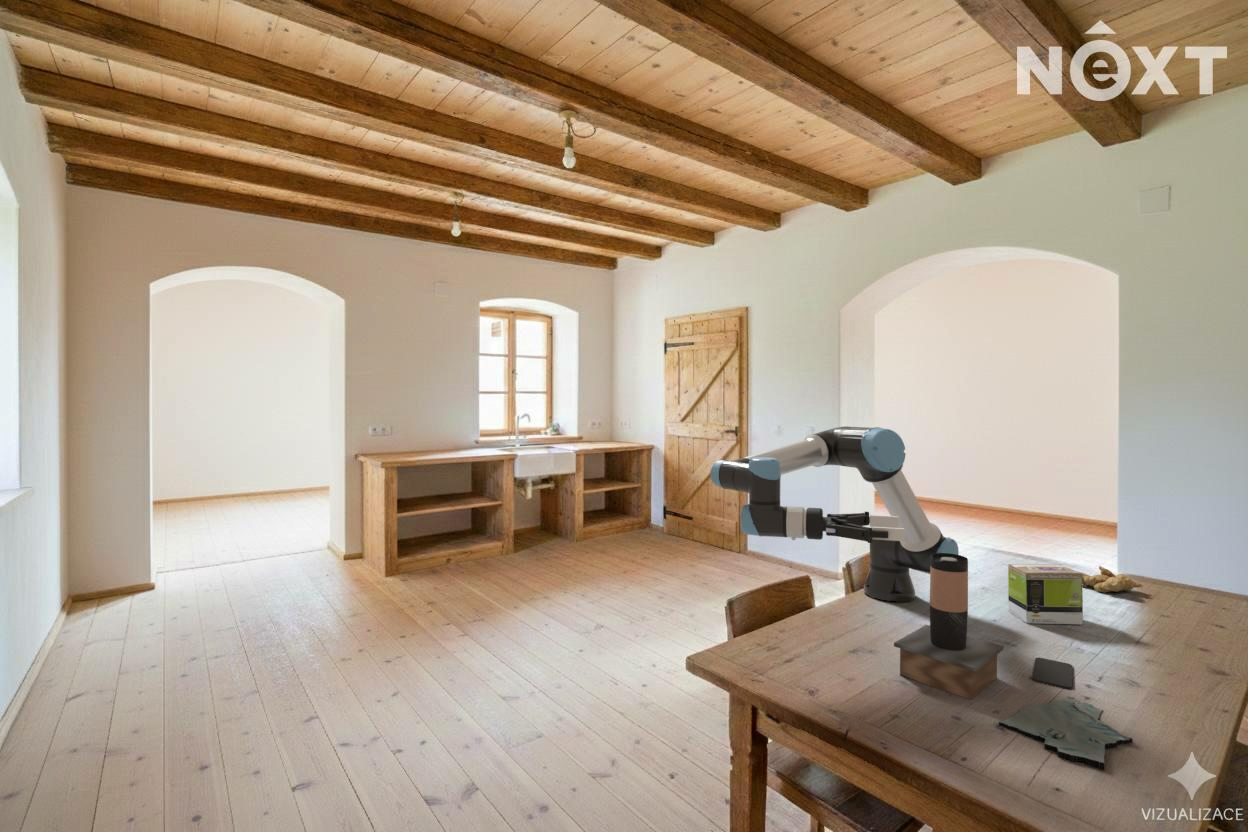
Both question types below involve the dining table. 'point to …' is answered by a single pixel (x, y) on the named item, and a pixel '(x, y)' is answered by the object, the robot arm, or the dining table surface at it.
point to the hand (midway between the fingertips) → (901, 528)
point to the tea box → (1045, 593)
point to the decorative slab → (1068, 730)
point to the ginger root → (1109, 581)
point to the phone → (1053, 673)
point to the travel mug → (948, 601)
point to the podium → (949, 663)
